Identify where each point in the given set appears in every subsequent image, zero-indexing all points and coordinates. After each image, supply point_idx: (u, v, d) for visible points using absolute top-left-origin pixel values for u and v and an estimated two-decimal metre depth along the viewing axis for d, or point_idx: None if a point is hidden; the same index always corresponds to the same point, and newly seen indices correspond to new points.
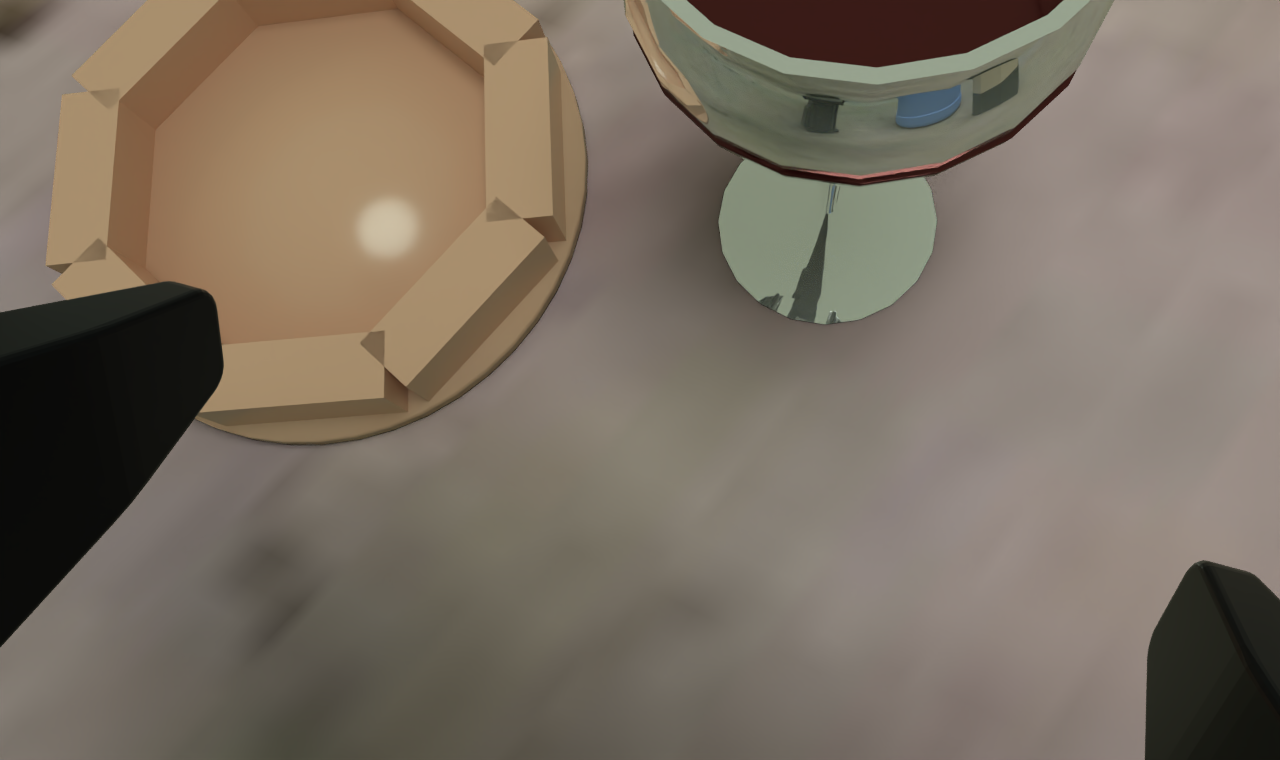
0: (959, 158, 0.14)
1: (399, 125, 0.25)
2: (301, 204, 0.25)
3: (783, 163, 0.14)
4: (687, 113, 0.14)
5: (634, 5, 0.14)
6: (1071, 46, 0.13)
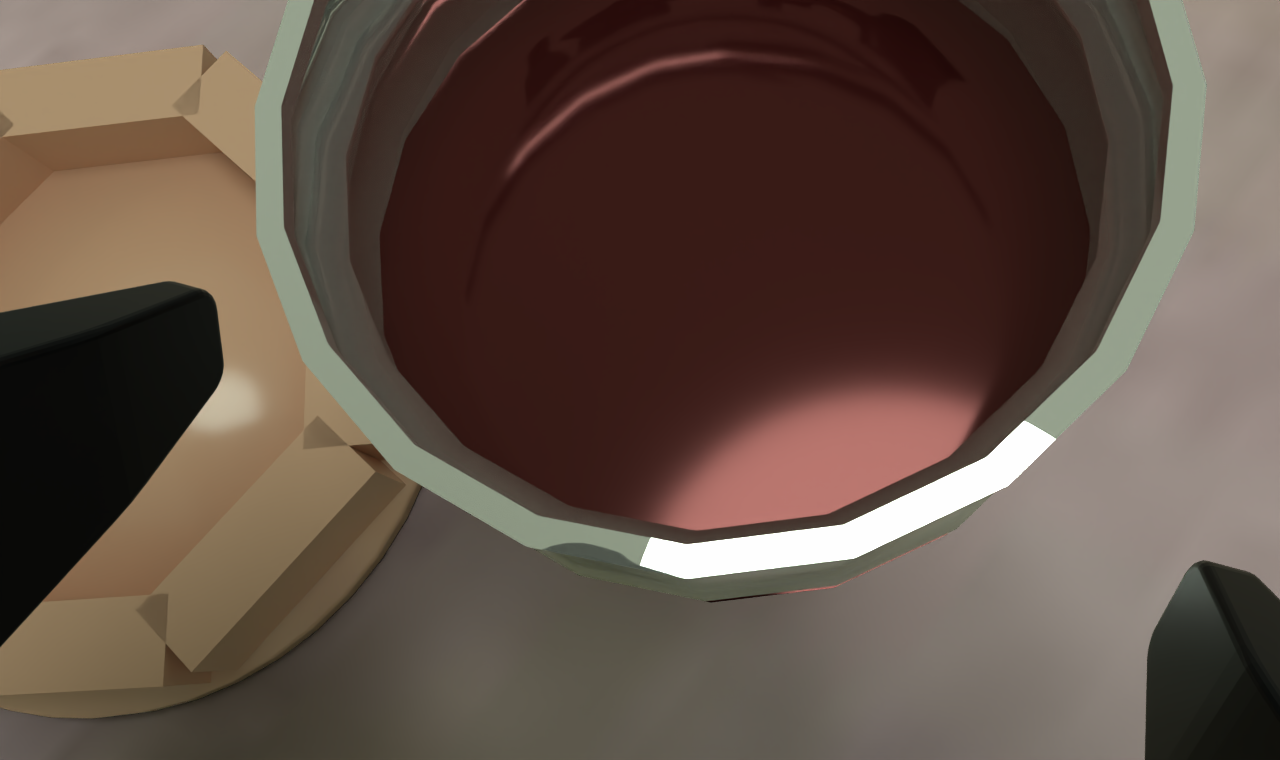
0: None
1: (217, 302, 0.20)
2: None
3: None
4: None
5: None
6: None
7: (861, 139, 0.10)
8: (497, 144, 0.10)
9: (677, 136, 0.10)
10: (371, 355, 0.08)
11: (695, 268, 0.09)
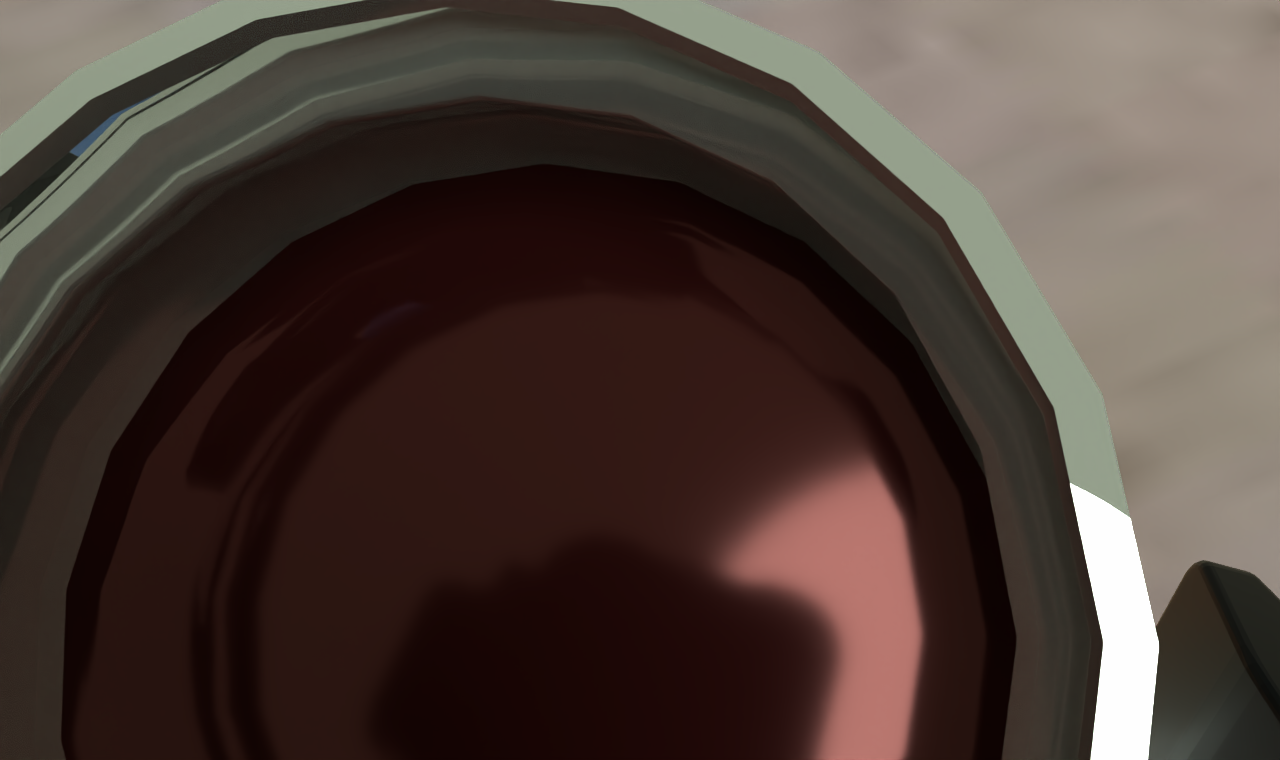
0: None
1: None
2: None
3: None
4: None
5: None
6: None
7: (707, 482, 0.07)
8: (228, 464, 0.07)
9: (462, 465, 0.07)
10: None
11: (474, 663, 0.07)
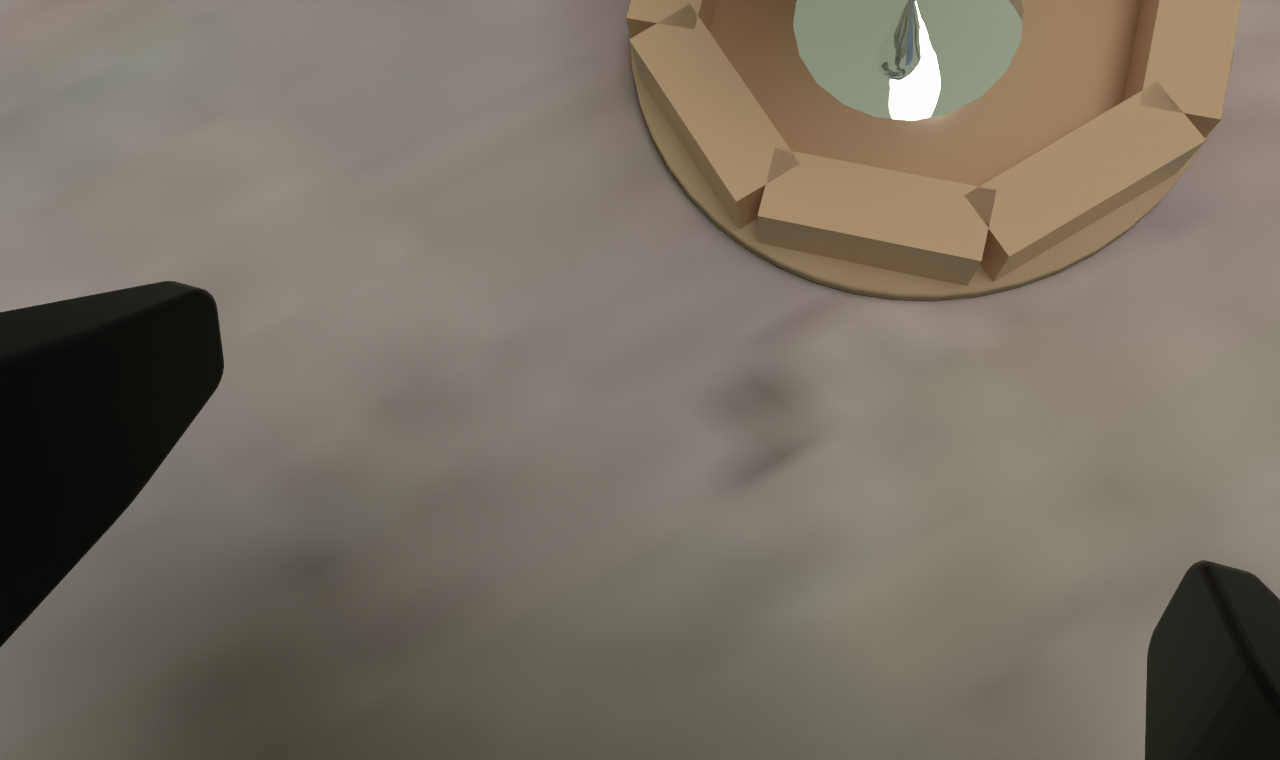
0: None
1: None
2: None
3: None
4: None
5: None
6: None
7: None
8: None
9: None
10: None
11: None
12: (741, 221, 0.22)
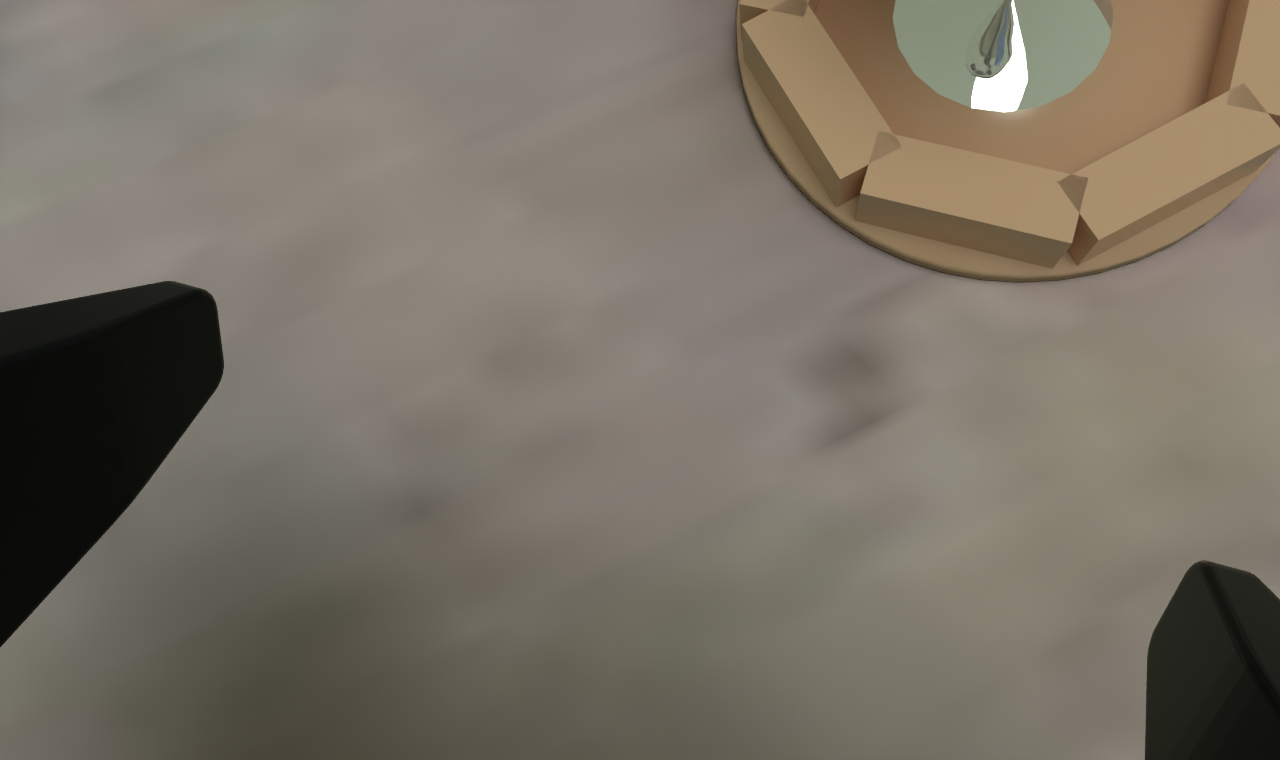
0: None
1: None
2: None
3: None
4: None
5: None
6: None
7: None
8: None
9: None
10: None
11: None
12: (840, 199, 0.23)
